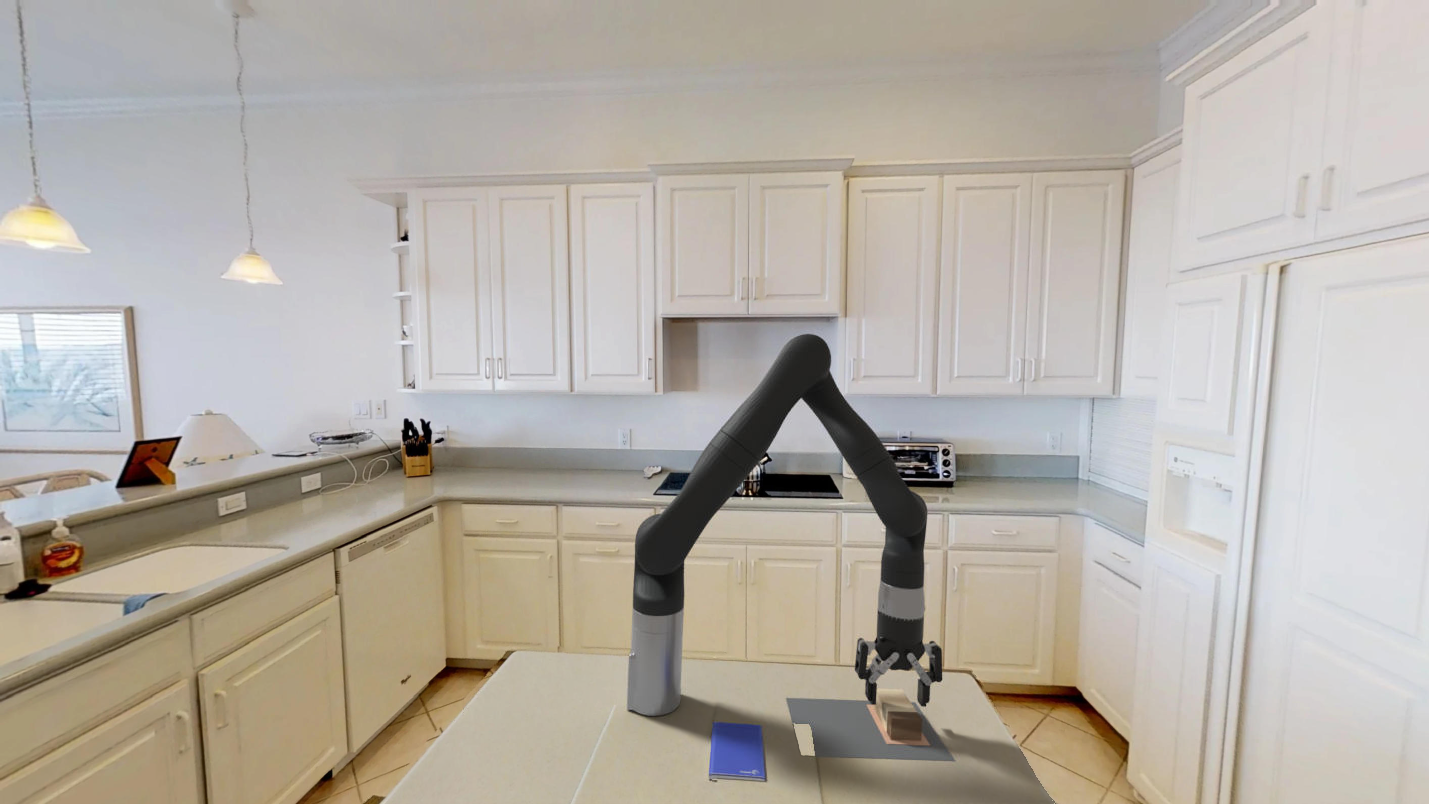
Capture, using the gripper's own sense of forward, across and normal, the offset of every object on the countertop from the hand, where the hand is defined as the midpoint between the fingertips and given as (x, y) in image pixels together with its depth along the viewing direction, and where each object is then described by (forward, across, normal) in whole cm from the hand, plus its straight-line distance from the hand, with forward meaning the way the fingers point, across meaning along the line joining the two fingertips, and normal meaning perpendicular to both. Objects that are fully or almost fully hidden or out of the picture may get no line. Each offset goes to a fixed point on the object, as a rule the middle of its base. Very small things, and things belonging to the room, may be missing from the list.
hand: (896, 703), depth 90 cm
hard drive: (+5, +28, +8) cm, 29 cm away
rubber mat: (+4, +6, +1) cm, 7 cm away
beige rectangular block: (+4, 0, 0) cm, 4 cm away
